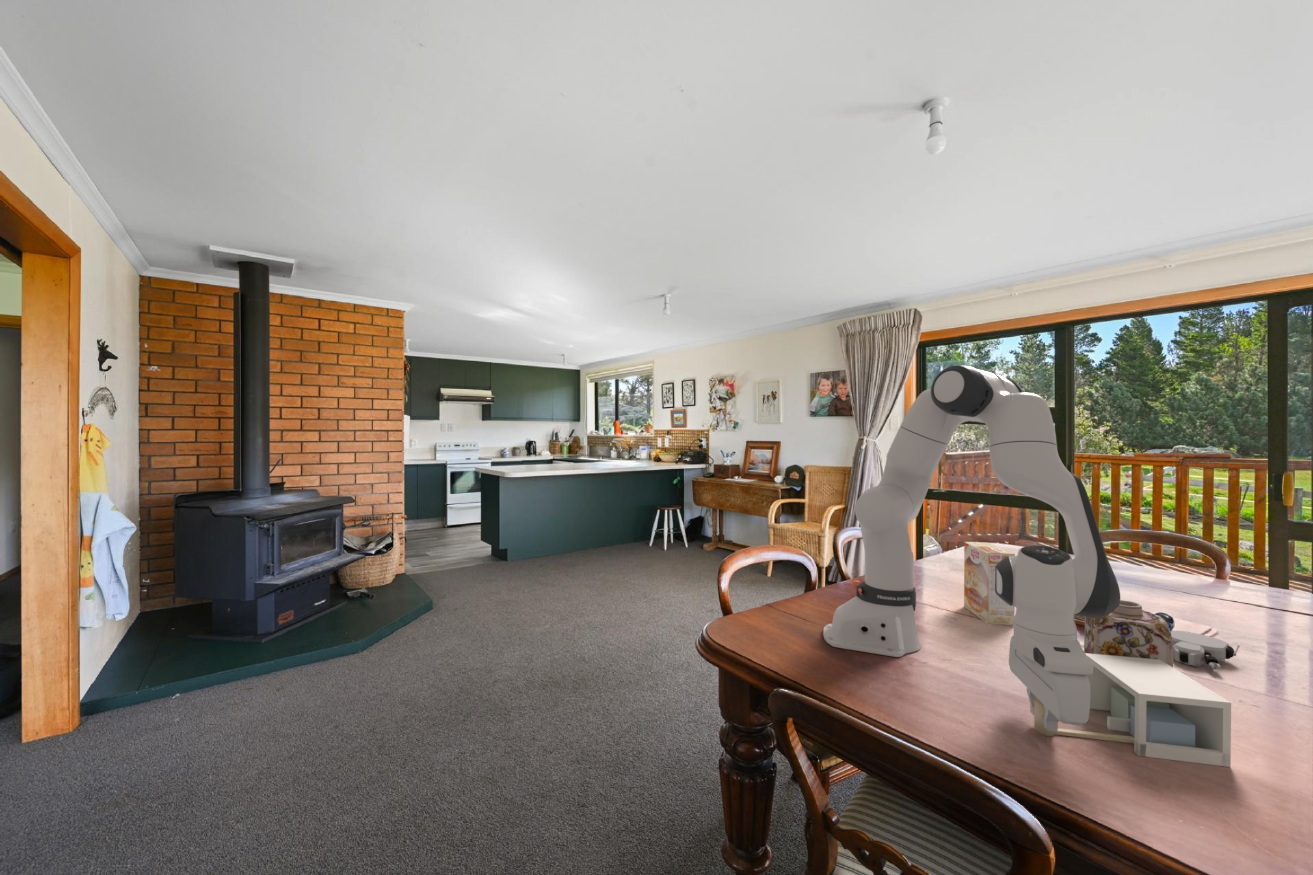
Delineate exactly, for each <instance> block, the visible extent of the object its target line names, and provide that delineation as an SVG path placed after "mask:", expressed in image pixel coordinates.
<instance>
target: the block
mask: <svg viewBox="0 0 1313 875" xmlns="http://www.w3.org/2000/svg"><path fill="white" fill-rule="evenodd" d="M1131 705H1133V706H1135V696H1133V695H1132V694H1131V693H1129V692H1128V691H1127V690H1125V689H1124V688H1119V687H1111V711H1110V714H1111V715H1112V717H1121V718H1130V719H1131ZM1146 707H1153V708H1162V709H1169V704H1168V703H1166V702H1156V701H1146Z"/></svg>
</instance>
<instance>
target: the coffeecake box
mask: <svg viewBox="0 0 1313 875" xmlns="http://www.w3.org/2000/svg"><path fill="white" fill-rule="evenodd" d="M963 543H964V544H963V546H964V548H963V549H964V553H963V554H964V555H963V556H964V557H963V558H964V559H963V561H964V563H963V567H964V568H963V569H964V570H963V571H964V572H963V576H964V577H963V578H964V579H963V580H964V581H963V582H964V583H963V588H964V589H963V602H964V603H963V607H964V608H965V609H967V610H968V611H969V612H971V614H974V615H975V616H976V618H979V619H980V620H981V621H983V622H984V623H986V624H987V625H992V626H993V625H995V626H1013V627H1014V617H1015V606H1010V605H1009V604H1007V603H1006V602H1005V601H1003V600H1002V599H1001V598H1000V597H999V596H998V595H997V594H996V593H995V566H996V565H997V564H998V563H999V562H1000V561H1001V560H1002V559H1004V558H1006V557H1007V556H1008V557H1009V556H1016V554H1015V553H1014V552H1011V551H1008V550H1006V549H1003V548H1002V547H1000V546H998V545H997V546H996V545H995V544H992V543H990V542H979V541H964V542H963Z"/></svg>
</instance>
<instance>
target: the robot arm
mask: <svg viewBox="0 0 1313 875" xmlns="http://www.w3.org/2000/svg"><path fill="white" fill-rule="evenodd" d="M967 422H970V423H971V424H972V425H980V426H986V427H987V430H988V442H989V443H988V445H989V447H988V448H989V459H990V466H991V471H992V473H993V475H994V477H995V478H996V479H997V480H998V481H999V482H1000V483H1002V485H1004V486H1005V487H1007V488H1008V489H1011V490H1012V491H1014V492H1016V493H1019V494H1021V495H1025V496H1027V497H1030V498H1033V499H1036V500H1037V501H1038V500H1039V501H1041V502H1043V503H1045V504H1048V505H1050V506H1051V507H1053V508H1054V509H1055V510H1056V511H1057V512H1059V513H1060V515H1061V516H1062V518H1063V520H1064V523H1065V529H1066V531H1067V536H1068V538H1069V542H1070V545H1071V548H1072V549H1071V550H1072V552H1073V555H1074V556H1073V557H1074V558H1072V556H1071V555H1070V554H1069V553H1067V552H1065V551H1064V550H1063V549H1059V548H1056V547H1052V546H1048V545H1039V544H1035V545H1034V544H1031V545H1025V546H1023V547H1021V548H1019V550H1018V551H1017V554H1016V555H1015V556H1009V557H1008V556H1007V557H1006V558H1004V559H1002V560H1001V561H1000V562H999V563H998V564H997V565H996V566H995V593H996V594H997V595H998V596H999V597H1000V598H1001V599H1002V600H1003V601H1005V602H1006V603H1007V604H1009V605H1010V606H1014V608H1016V609H1015V613H1014V626H1013V635H1012V636H1010V641H1009V642H1010V643H1009V650H1008V652H1009V653H1008V665H1009V670H1010V672H1011V673H1013V675H1014V676H1015V677H1016V678H1017V679H1018V680H1019V681H1020V682H1021V683H1022V684H1023V685H1024V686H1025V687H1026V693H1027V697H1028V700H1029V704H1030V706H1029V707H1030V708H1029V710H1030V711H1029V712H1030V713H1031V714H1032V715H1033V716H1034V700H1035V699H1039V700H1040V701H1041V702H1042V703H1043V704H1044V709H1045V710H1046V712H1045V716H1042V725H1043V726H1044V727H1045V729H1046V730H1048V731H1054V732H1056V731H1057V730H1058V728H1059V722H1060V723H1062V724H1067V725H1073V726H1074V725H1075V726H1085V725H1086V724H1087V722H1088V721H1089V719H1090V710H1091V709H1090V683H1089V680H1088V678H1087V676H1086V675H1092V674H1093V665H1092V662H1091V661H1090V659H1089V658H1088V657H1087V655H1086V654H1085V653H1084V648H1082V646H1081V642H1080V641H1079V640H1078V628H1077V625H1076V620H1075V616H1079V617H1083V618H1085V617H1089V618H1094V619H1100V618H1103V617H1105V616H1106V615H1108V614H1110V613H1111V612H1113V611H1114V610H1115V609H1116V608H1117V607H1118V606H1119V604H1120V600H1121V592H1120V586H1119V583H1118V580H1117V577H1116V575H1115V572H1114V571H1113V569H1112V566H1111V563H1110V561H1109V559H1108V556H1107V553H1106V549H1105V547H1104V542H1103V540H1102V536H1101V533H1100V529H1099V527H1098V523H1097V520H1096V516H1095V513H1094V510H1093V507H1092V504H1091V501H1090V497H1089V496H1088V492H1087V490H1086V486H1085V485H1084V482H1083V481H1082V479H1081V478H1080V476H1078V475H1077V474H1074V473H1072V472H1070V471H1069V469H1067V467H1066V466H1065V465H1064V463H1063V462H1062V459H1061V458H1060V455H1059V452H1058V443H1057V434H1056V428H1055V425H1054V420H1053V416H1052V412H1051V409H1050V406H1049V404H1048V402H1047V401H1046V400H1045V399H1044V398H1043V397H1042V396H1040V395H1038V394H1036V393H1032V392H1025V391H1024V389H1023V388H1022V387H1021V386H1020V385H1019V384H1017V383H1016V382H1015V381H1014V380H1011V379H1009V378H1006V377H1004V376H1002V375H1000V374H997V373H995V372H992V371H987V370H982V369H978V368H975V367H973V366H970V365H965V364H964V365H961V364H957V365H951V366H948V367H945V368H943V369H942V370H940V371H939V372H938V374H937V375H936V376H935V377H934V379H933V380H932V383H931V386H930V388H928V389H925V390H923V391H921V393H919V395H918V396H917V398H916V399H915V400H914V401H913V403H912V404H911V406H910V408H909V409H908V411H907V412H906V414H905V416H904V418H903V420H902V422H901V423H900V426H899V428H898V431H897V432H896V434H895V436H894V439H893V440H892V443H891V444H890V447H889V449H888V452H887V454H886V461H885V465H884V470H883V473H882V477H881V478H880V481H879V483H878V485H877V486H876V485H875V486H872V487H870V488H868V489H866V490H865V491H864V492H862V493H861V495H860V496H858V498H857V500H856V502H855V505H854V514H855V517H856V520H857V521H858V522H859V526H860V532H861V538H862V542H863V548H864V581H862V582H861V581H860V580H858V579H854V580H853V581H852V587H853V589H855V591H856V592H855V596H854V597H852V598H851V599H849V600H848V601H846V602H845V603H843V604H841V605H839V606H838V607H837V608H836V609H835V611H834V613H833V617H832V621H831V622H832V623H827V624H826V625H825V626H824V627H823V629H822V630H823V631H822V636H823V639H824V641H825V642H826V643H827V644H829V645H830V646H832V647H833V648H838V649H843V650H851V651H857V652H863V653H870V654H876V655H881V656H888V657H895V658H900V657H903V656H904V655H906V654H910V653H914V652H917V651H919V650H920V649H921V648H922V644H921V642H920V638H919V634H918V630H917V629H918V628H917V624H916V615H915V611H916V607H917V592H916V587H915V586H914V583H915V582H914V580H915V578H914V576H915V575H914V567H915V566H914V565H915V564H914V563H915V560H914V558H915V555H914V553H913V550H912V545H911V541H910V534H909V524H910V523H912V522H913V521H914V520H915V519H916V518H917V517H918V516H919V513H920V510H921V507H922V505H923V503H924V500H925V498H926V496H927V493H928V490H929V487H930V485H931V482H932V479H933V476H934V473H935V471H936V470H937V467H938V465H939V463H940V462H941V459H942V458H943V455H944V453H945V451H946V449H947V447H948V445H949V443H950V441H951V439H952V437H953V434H954V432H955V431H956V429H957V428H958V427H959V426H960V425H962V424H963V423H967Z"/></svg>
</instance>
